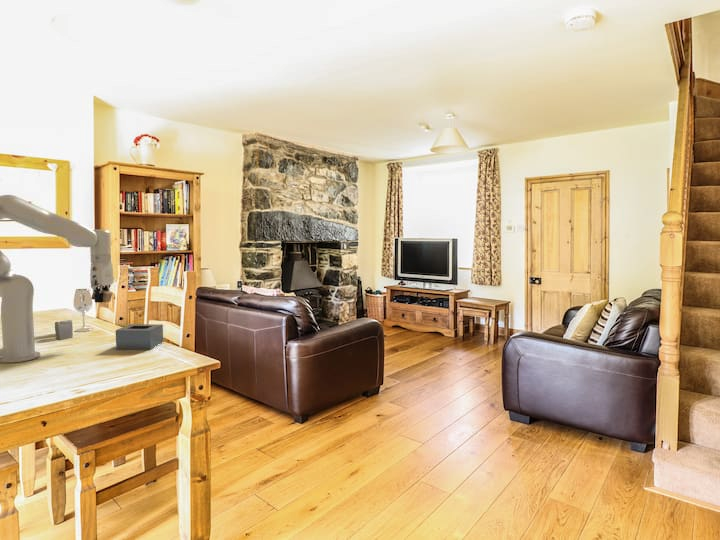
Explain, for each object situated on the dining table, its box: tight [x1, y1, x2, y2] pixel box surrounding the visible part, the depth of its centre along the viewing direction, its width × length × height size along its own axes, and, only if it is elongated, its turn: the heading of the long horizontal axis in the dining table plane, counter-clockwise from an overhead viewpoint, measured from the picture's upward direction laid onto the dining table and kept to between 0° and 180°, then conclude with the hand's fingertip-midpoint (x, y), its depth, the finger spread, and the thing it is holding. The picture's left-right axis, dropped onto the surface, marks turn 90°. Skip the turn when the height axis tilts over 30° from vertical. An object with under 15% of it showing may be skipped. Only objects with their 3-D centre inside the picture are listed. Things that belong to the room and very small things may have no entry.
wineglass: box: [73, 288, 94, 333], centre depth 219 cm, size 8×8×20 cm
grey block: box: [54, 319, 74, 341], centre depth 203 cm, size 7×9×8 cm
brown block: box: [91, 289, 113, 304], centre depth 193 cm, size 6×4×4 cm, turn 91°
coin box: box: [115, 323, 164, 351], centre depth 190 cm, size 14×12×8 cm
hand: (102, 301), depth 193 cm, fingers closed on brown block, 4 cm apart
